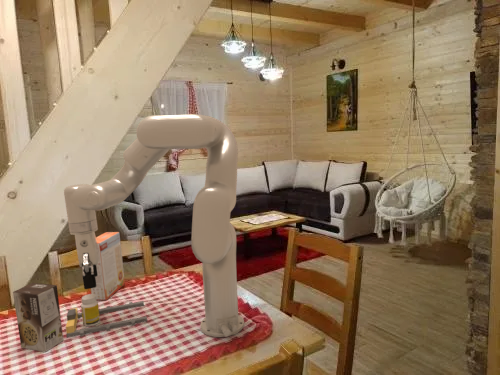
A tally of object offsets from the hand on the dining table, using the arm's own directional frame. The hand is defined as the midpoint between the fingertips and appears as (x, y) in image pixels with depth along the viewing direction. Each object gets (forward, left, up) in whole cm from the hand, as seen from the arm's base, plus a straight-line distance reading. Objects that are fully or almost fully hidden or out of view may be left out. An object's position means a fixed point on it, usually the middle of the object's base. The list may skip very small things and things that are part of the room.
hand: (91, 282), depth 110 cm
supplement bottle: (0, +1, -13) cm, 13 cm away
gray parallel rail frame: (0, -4, -13) cm, 13 cm away
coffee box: (-7, +13, -13) cm, 20 cm away
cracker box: (+22, -4, -13) cm, 26 cm away
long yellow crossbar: (0, +6, -13) cm, 14 cm away
